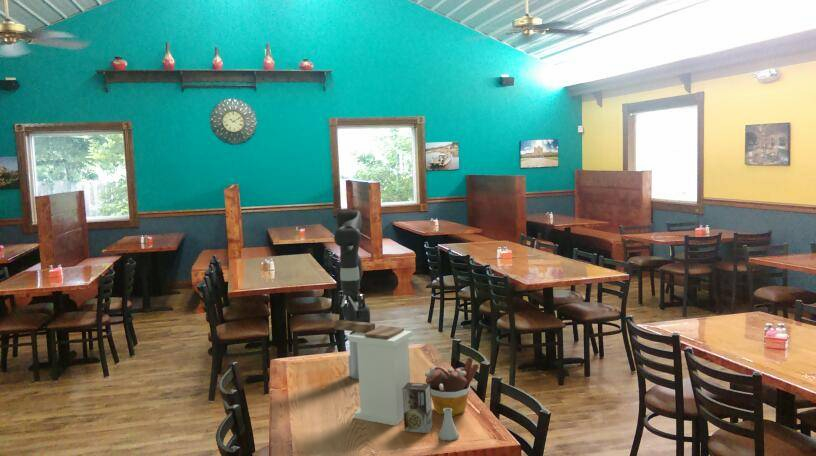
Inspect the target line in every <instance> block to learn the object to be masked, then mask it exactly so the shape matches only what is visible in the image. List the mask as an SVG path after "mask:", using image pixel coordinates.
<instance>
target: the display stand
mask: <svg viewBox="0 0 816 456" xmlns="http://www.w3.org/2000/svg"><path fill="white" fill-rule="evenodd" d="M375 328H377V327H376V326H375ZM365 333H366V332H355V333H353V334H351V335H349V334H348V335H347V342H349V341H351V342H357V352H358V371H359V379H358V387H359V388H358V390H359V405H360V407H359V409H358V410H357V411H355V412H354V413H353V415H354V419H358V420H363V421H368V422H374V423H379V424H384V425H388V426H389V425H391V426H397V425H398V424H400V423H401V422H402V421H404V411H403V395H402V388H403V387H404V386H405V385H406V384H407V383H411V371H410V347H409V339H410V338H413V330H405V329H404V331H402V332H400V333H398V334H396V335H394V336H393V337H391V338H389V339H385V338H376V337H367V336H365Z"/></svg>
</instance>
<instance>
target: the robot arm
mask: <svg viewBox="0 0 816 456" xmlns="http://www.w3.org/2000/svg"><path fill="white" fill-rule="evenodd" d="M362 226H363V219H362V214H361V211H359V210H358V209H350V210H339V211H337V212H336V227H337V229H336V230H335V231H334V235H333V240H334V242H335V244H336V246H338V247H339V251H340V254H339V261H340V272H339V274H340V289H341V290H338V291H337V304H338V306H340V307H341V311H342V312H341V313H342V317H344V320H346V321H356V322H366V323H371V311H370V307H369V305H368V304H366V301H365V294H364V293H359V290H360V289H361V284H360V283H361V280H362V277H363V264H362V263H363V261H362V258H361V257H360V255H359V247H360V244H361V240H362V233H361V231H360V230H361V229H362ZM355 332H356V331H350V333H349V334H348V336H349V335H351V334H353V333H355ZM348 342H349V356H348V358H347V359H348V376H349V377H350V378H351V379H353V380H359V371H358V352H357V342H351V341H348ZM349 377H348V378H349Z"/></svg>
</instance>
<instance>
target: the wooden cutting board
mask: <svg viewBox="0 0 816 456" xmlns="http://www.w3.org/2000/svg"><path fill="white" fill-rule="evenodd" d="M375 327H376V323H375V322H370V323H366V322H356V321H346V320H345V319H336V320H334V321H333V328H334V329H333V330H341V331H346V332H347V331H349V332H352V331H356V332H366V333H365V336H367V337H376V338H385V339H389V338H391V337H393V336H394V335H396V334H398V333H400V332H402V331H404V330H405V327H397V326H391V325H390V326H388V325H380V326H378V327H376V328H375Z"/></svg>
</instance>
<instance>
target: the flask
mask: <svg viewBox="0 0 816 456" xmlns="http://www.w3.org/2000/svg"><path fill="white" fill-rule="evenodd" d="M443 412H444V415H443V421H442V424H441V428H440V431H439V434H438V438H439V439H440V440H441V441H446V440H447V441H449V442H451V441H455V440H458V439H459V437H460V435H459V432H458V430H457V427H456V425H455V423H454V420H453V416H452V409H451V408H445V409H443ZM447 441H446V442H447Z"/></svg>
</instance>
